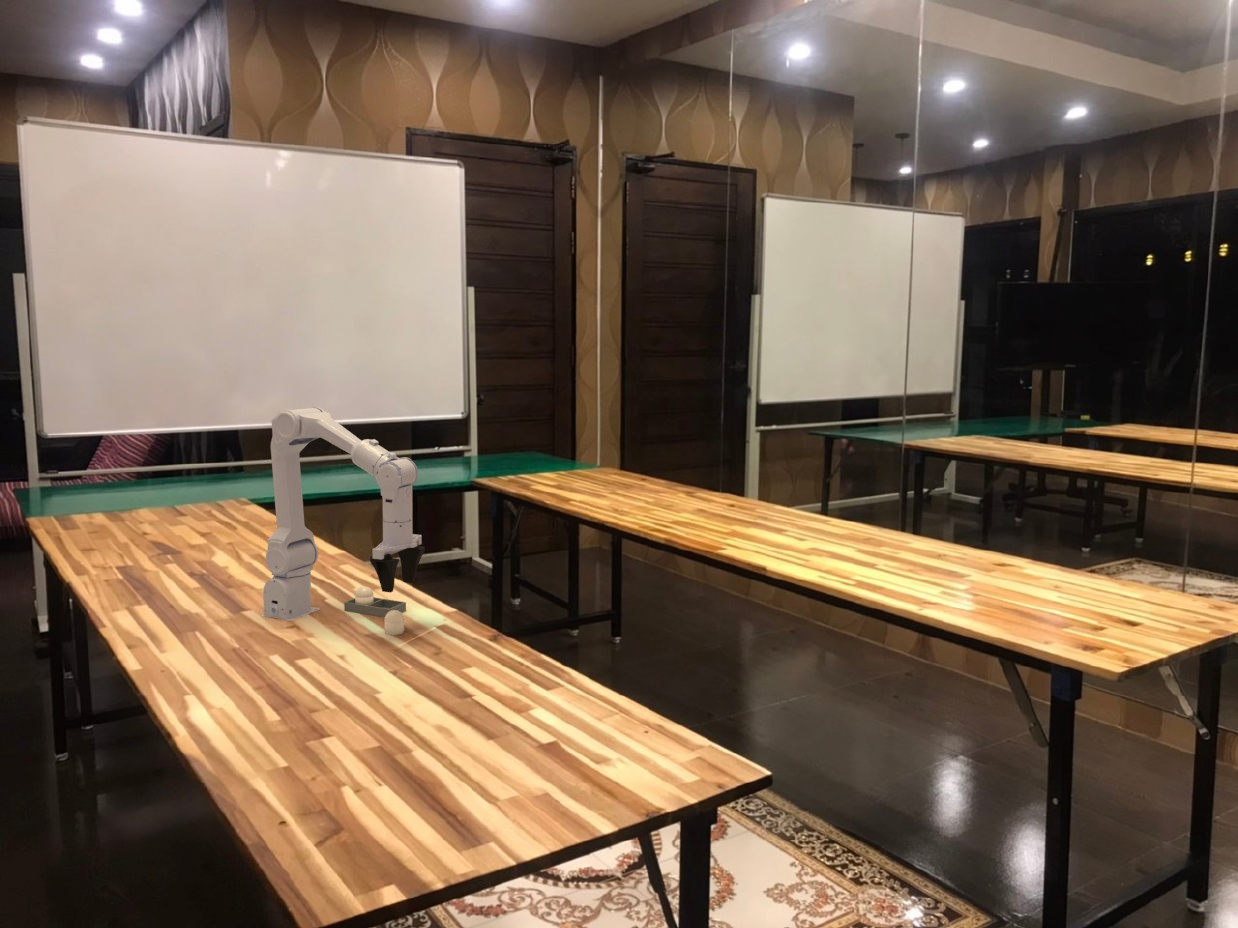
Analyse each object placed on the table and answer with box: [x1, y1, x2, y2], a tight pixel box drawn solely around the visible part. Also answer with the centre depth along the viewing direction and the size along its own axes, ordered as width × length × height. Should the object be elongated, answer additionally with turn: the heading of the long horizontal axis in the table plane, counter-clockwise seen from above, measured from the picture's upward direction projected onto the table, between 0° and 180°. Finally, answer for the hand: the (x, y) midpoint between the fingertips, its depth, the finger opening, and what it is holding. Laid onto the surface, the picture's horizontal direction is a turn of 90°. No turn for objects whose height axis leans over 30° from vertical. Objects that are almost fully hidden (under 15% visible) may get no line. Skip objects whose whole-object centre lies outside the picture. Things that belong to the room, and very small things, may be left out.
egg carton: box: [343, 596, 407, 618], centre depth 200 cm, size 6×12×2 cm, turn 68°
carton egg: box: [354, 585, 374, 605], centre depth 201 cm, size 4×4×5 cm
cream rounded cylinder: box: [384, 610, 405, 636], centre depth 186 cm, size 4×4×5 cm
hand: (398, 586), depth 186 cm, fingers open, 7 cm apart
